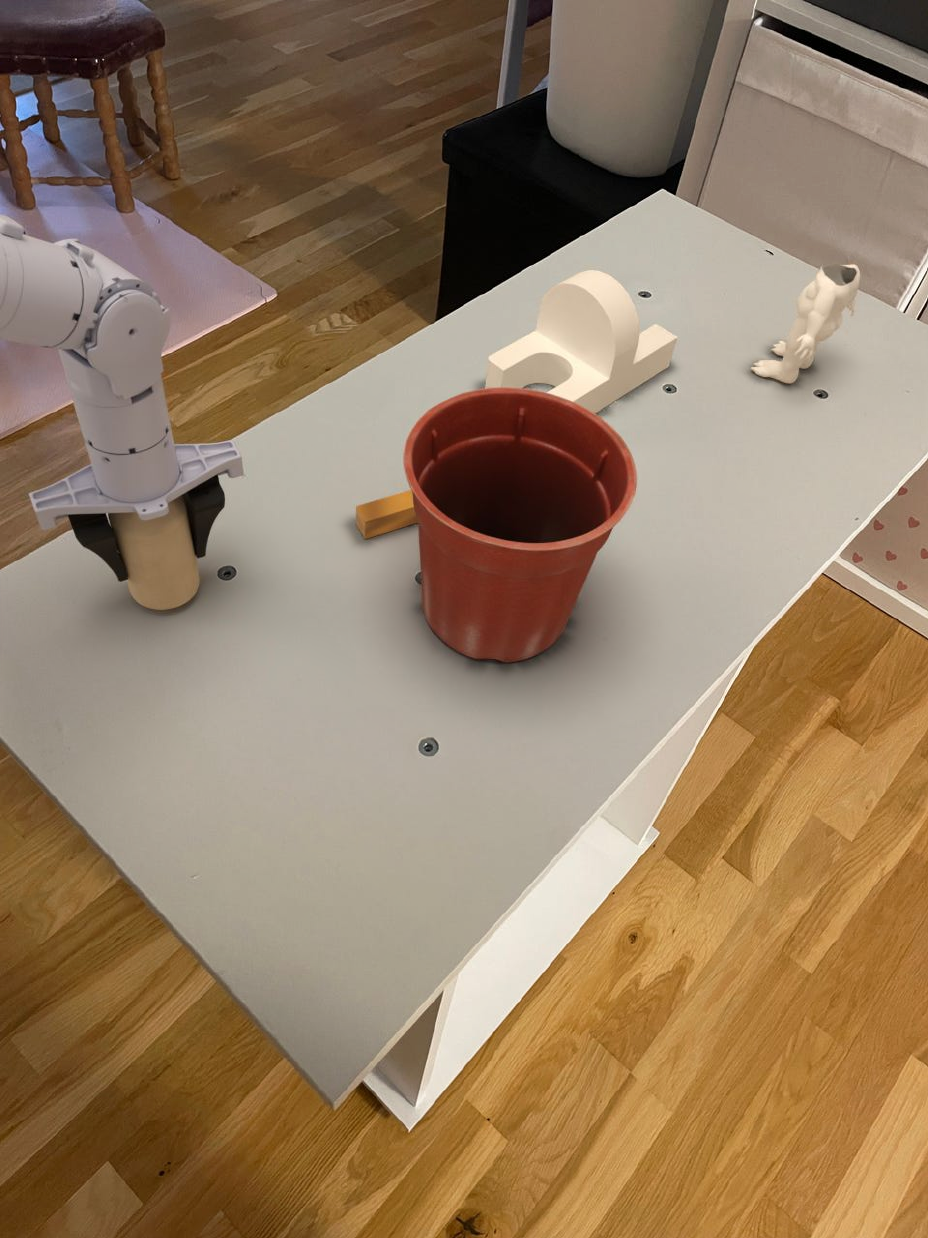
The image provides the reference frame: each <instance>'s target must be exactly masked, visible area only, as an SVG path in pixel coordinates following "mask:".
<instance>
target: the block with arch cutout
mask: <svg viewBox="0 0 928 1238" xmlns="http://www.w3.org/2000/svg"><path fill="white" fill-rule="evenodd" d="M677 340H678V336H676V335H675V334H674V333H671V332H670V331H669V330H667V329H665V328H664V327H662V326H660V325H659V324H657V323H655V324H653V325H651V326H650V327H647V329H644V330H643V331H641V329H640V319H639V315H638V312H637V309H636V306H635V303H634V302H633V300H632V298H631V296H630V294H629V293H628V291H627V290H626V288H624V286H623V285H622V284H621V283H620V282H619V281H618V280H616V279H615V278H614V277H613V276H611V275H609V274H607V273H606V272H603V271H601V270H594V269H588V270H584V271H580V272H578V273H576V274H574V275H572V276H571V277H568V278H567V279H565V280H563V281H561V282H559V283H557V284H556V285H554V286H552V287H551V288H549V289H548V290H547V291H546V293H545V294H544V296H543V297H542V299H541V302H540V305H539V309H538V314H537V321H536V326H535V330H534V331H532V332H530V333H528V334H527V335H525V336H523V337H521V338H519V339H517V340H516V341H514V342H512V343H510V344H508V345H507V346H504V347H502V348H501V349H499V350H498V351H495V352H494V353H492V354H490V355H489V356H488V360H487V361H488V362H487V370H486V377H485V385H484V389H485V388H497V387H509V388H522V389H524V387H526V386H527V387H528V386H529V385H533V384H545V385H550V386H553V387H554V388H552V389H550V390H548V391H547V392H546V393H549V394H553V395H556V396H559V397H562V398H564V399H567V400H570V401H572V402H574V403H576V404H579V405H581V406H583V407H584V408H586V409H588V410H590V411H591V412H593V413H594V414H597V413H599V412H600V411H602V410H603V409H605V408H606V407H608V406H609V405H611V404H612V403H614V402H615V401H617V400H618V399H620V398H622V397H623V396H625V395H627V394H628V393H630V392H631V391H633V390H634V389H636V388H637V387H639V386H640V385H642V384H644V383H645V382H647V381H649V380H650V379H652V378H653V377H655V376H657V375H658V374H660V373H661V372H663V371H664V370H666V369H667V368H669V367H670V364H671V360H672V357H673V354H674V351H675V347H676V344H677Z"/></svg>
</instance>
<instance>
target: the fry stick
mask: <svg viewBox="0 0 928 1238" xmlns="http://www.w3.org/2000/svg"><path fill="white" fill-rule="evenodd" d="M415 524H418V518H417V516H416V513H415V509H414V505H413V494H412V490H411V489H409V490H406V491H403V492H399V493H395V494H393V495H389V496H386V497H382V498H379V499H376V500H373V501H369V502H366V503H363V504H359V505H356V506H355V525H356V526H357V528H358V530H359V531H360V533H361V535H362V537H363V538H364V539H365V540H367V539H370V538H374V537H377V536H380V535H384V534H387V533H390V532H392V531H395V530H399V529H403V528H405V527H408V526H412V525H415Z"/></svg>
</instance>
